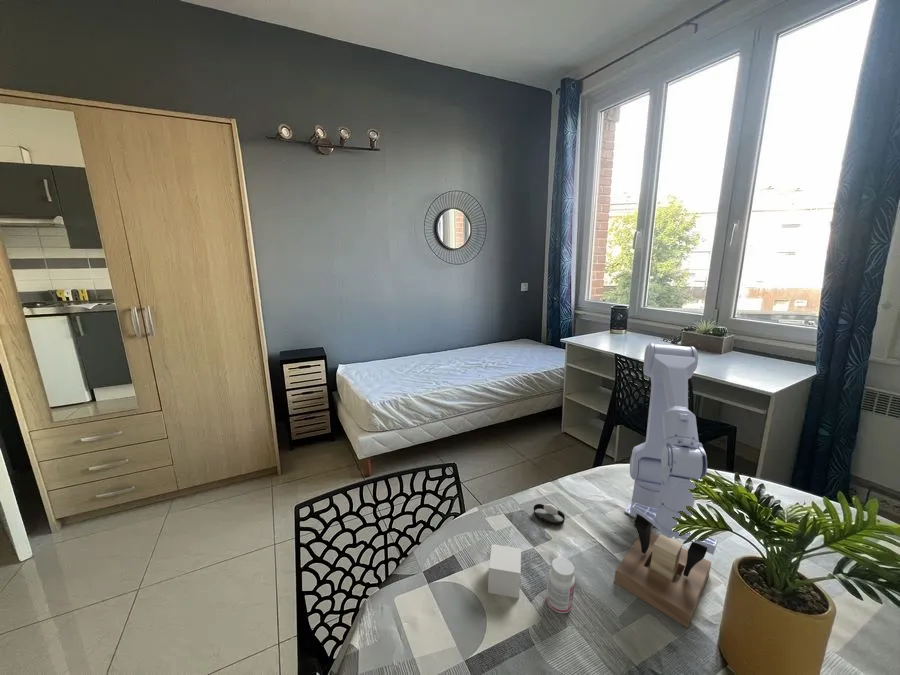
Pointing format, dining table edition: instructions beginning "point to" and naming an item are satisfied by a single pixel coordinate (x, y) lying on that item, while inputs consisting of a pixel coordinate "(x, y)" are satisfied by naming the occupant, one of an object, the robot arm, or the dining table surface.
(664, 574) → the beech peg
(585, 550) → the dining table surface
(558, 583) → the pill bottle
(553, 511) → the watch
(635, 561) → the socket block
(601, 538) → the dining table surface
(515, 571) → the white cube
